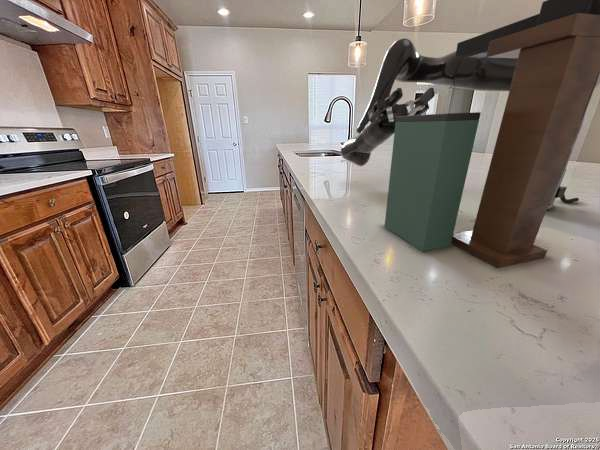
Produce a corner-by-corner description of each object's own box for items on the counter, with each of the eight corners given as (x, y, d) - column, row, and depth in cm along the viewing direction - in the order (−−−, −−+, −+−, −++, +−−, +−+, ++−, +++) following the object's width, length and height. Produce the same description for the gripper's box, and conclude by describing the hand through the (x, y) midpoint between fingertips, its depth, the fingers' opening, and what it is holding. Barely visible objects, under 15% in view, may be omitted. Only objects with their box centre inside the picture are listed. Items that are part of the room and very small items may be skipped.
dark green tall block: (407, 223, 55) (423, 115, 47) (450, 246, 45) (481, 112, 36) (384, 226, 54) (396, 116, 45) (422, 251, 43) (447, 113, 35)
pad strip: (470, 56, 44) (474, 36, 43) (608, 17, 28) (620, -16, 27) (452, 56, 43) (456, 35, 42) (584, 15, 27) (595, -20, 26)
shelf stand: (482, 231, 50) (535, 43, 37) (544, 257, 40) (644, 14, 28) (442, 239, 48) (484, 40, 35) (497, 268, 38) (583, 8, 25)
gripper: (355, 117, 70) (386, 75, 54) (398, 116, 73) (439, 76, 57) (360, 142, 69) (393, 107, 53) (403, 139, 72) (446, 105, 56)
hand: (417, 91), depth 55 cm, fingers open, 8 cm apart
